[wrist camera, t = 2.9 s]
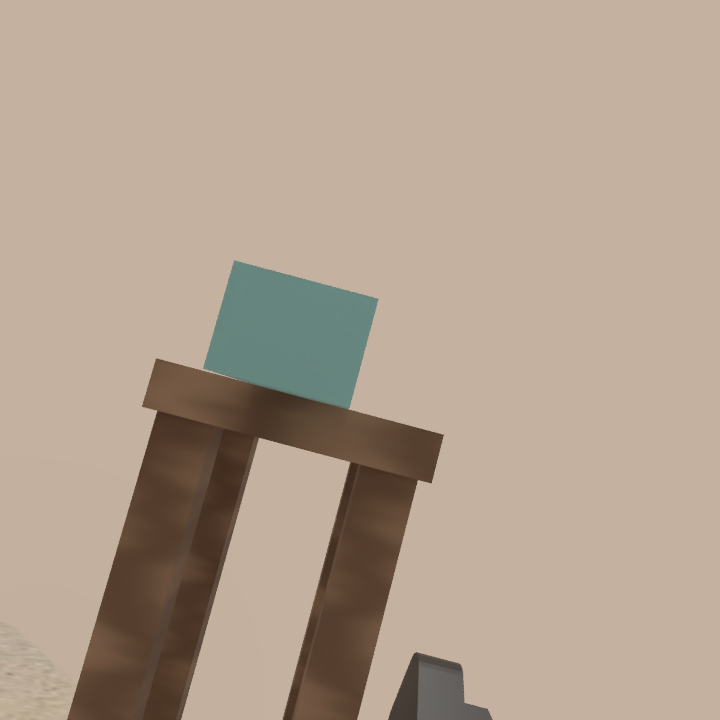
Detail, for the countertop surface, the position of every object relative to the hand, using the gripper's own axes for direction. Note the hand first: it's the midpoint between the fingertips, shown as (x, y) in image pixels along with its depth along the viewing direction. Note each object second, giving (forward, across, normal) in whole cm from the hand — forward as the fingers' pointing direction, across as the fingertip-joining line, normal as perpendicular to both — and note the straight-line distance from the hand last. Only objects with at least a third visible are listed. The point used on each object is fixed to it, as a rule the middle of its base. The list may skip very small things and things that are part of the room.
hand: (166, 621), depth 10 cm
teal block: (+18, 0, +6) cm, 19 cm away
